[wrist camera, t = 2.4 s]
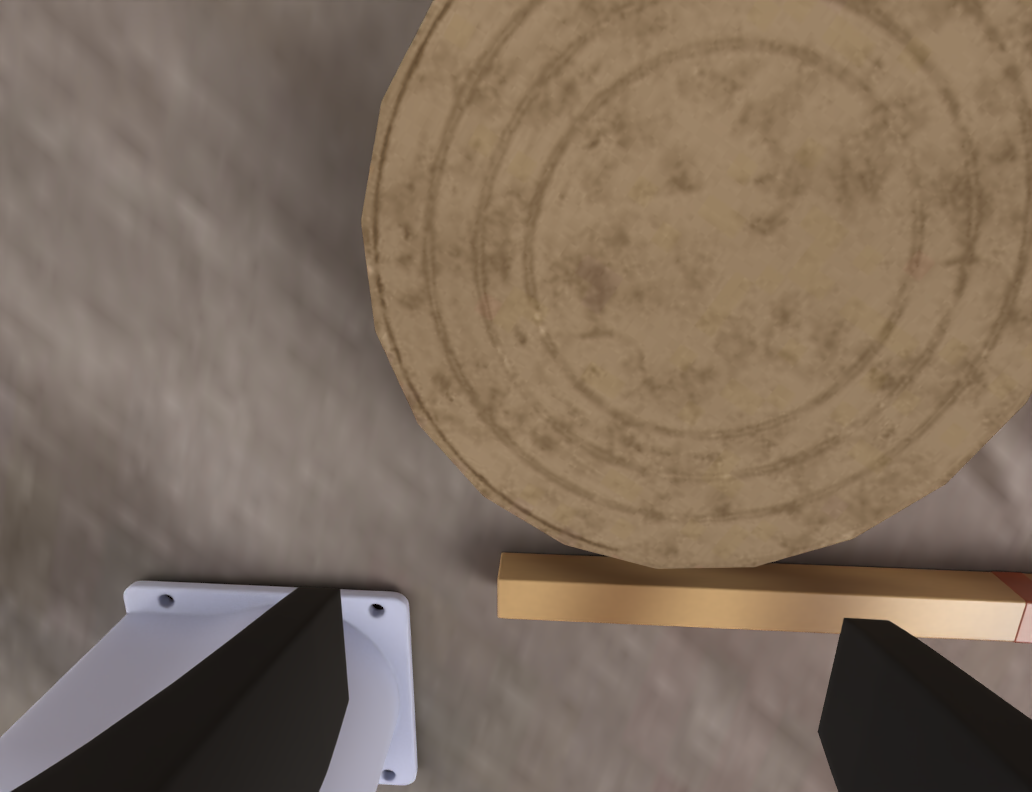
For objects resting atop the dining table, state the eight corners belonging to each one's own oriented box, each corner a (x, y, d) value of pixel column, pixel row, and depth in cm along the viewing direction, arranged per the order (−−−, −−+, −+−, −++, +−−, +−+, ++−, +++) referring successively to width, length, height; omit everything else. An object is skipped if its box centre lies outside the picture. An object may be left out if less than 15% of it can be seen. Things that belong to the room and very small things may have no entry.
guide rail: (501, 589, 20) (497, 619, 18) (501, 550, 19) (497, 579, 18) (1077, 613, 19) (1120, 648, 17) (1091, 574, 18) (1136, 606, 17)
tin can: (1015, -205, 13) (1146, -320, 10) (1002, 465, 18) (1090, 516, 15) (318, -9, 15) (262, -58, 12) (470, 551, 19) (456, 611, 17)
